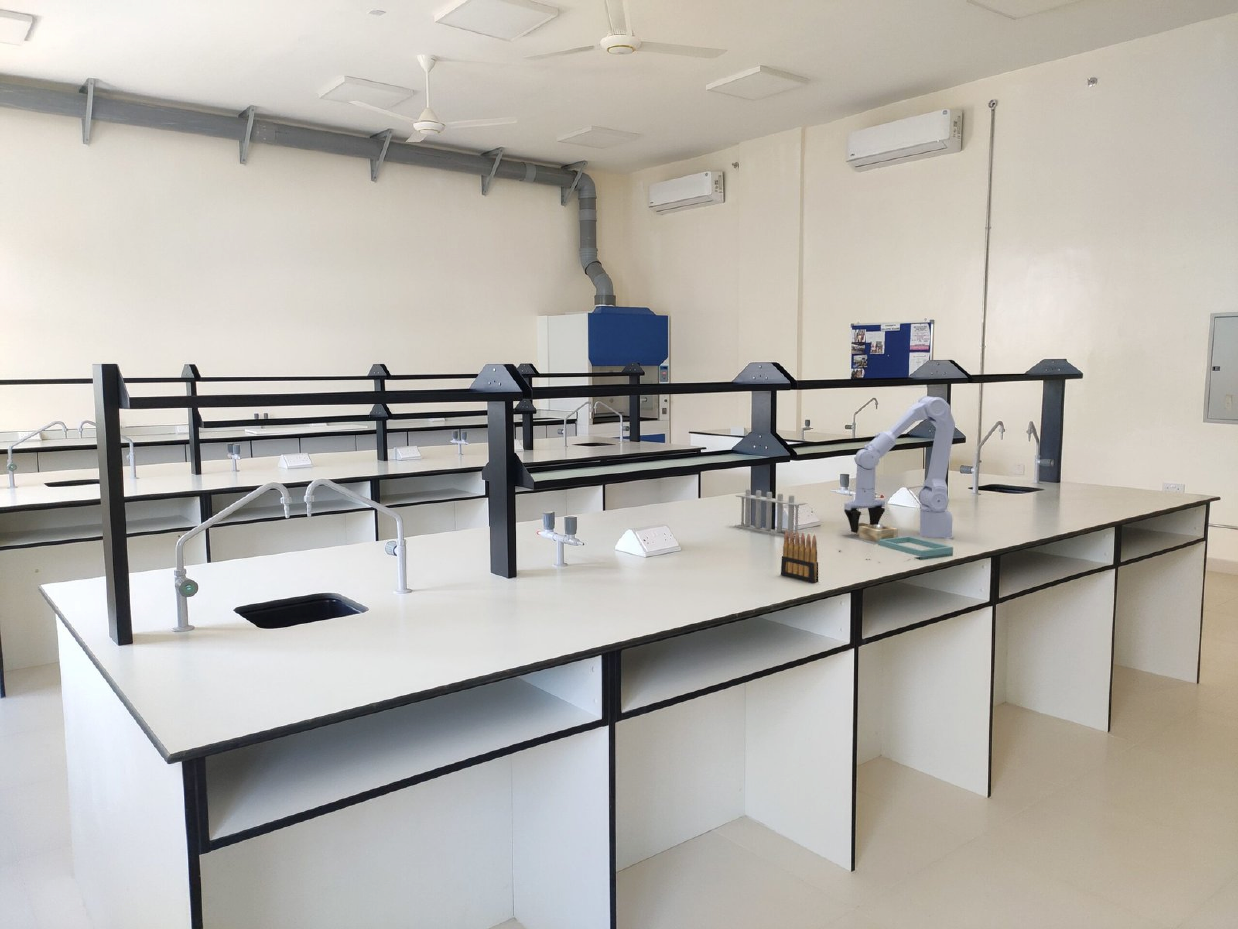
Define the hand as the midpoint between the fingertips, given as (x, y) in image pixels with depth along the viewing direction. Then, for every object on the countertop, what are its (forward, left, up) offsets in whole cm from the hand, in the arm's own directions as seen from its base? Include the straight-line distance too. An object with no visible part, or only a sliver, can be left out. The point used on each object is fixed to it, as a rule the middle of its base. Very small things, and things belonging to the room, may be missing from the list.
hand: (863, 531), depth 263 cm
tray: (0, +21, -2) cm, 21 cm away
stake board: (0, +5, -2) cm, 5 cm away
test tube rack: (+21, -21, -3) cm, 30 cm away
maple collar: (0, +4, -1) cm, 4 cm away
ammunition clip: (+49, +31, -3) cm, 58 cm away
